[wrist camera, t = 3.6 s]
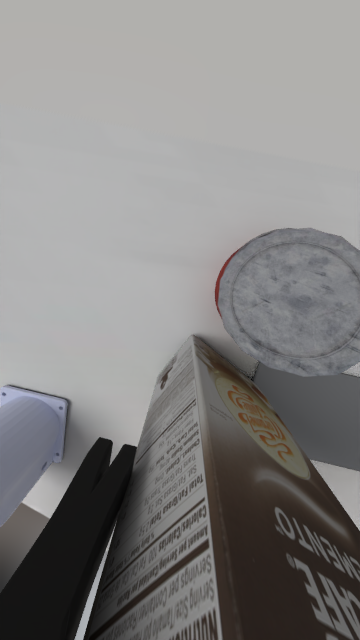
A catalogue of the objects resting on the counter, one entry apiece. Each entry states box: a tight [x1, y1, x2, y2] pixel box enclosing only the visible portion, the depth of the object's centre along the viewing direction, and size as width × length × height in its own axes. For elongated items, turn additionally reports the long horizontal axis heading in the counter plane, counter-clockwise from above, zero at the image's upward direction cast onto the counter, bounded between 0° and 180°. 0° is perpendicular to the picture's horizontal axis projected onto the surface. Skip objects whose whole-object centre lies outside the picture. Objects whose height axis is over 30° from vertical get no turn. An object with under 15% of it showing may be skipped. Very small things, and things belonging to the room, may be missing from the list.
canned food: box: [215, 228, 360, 377], centre depth 14 cm, size 11×10×10 cm
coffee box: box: [83, 335, 360, 640], centre depth 11 cm, size 9×6×16 cm
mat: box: [253, 361, 360, 471], centre depth 19 cm, size 11×17×1 cm, turn 77°
